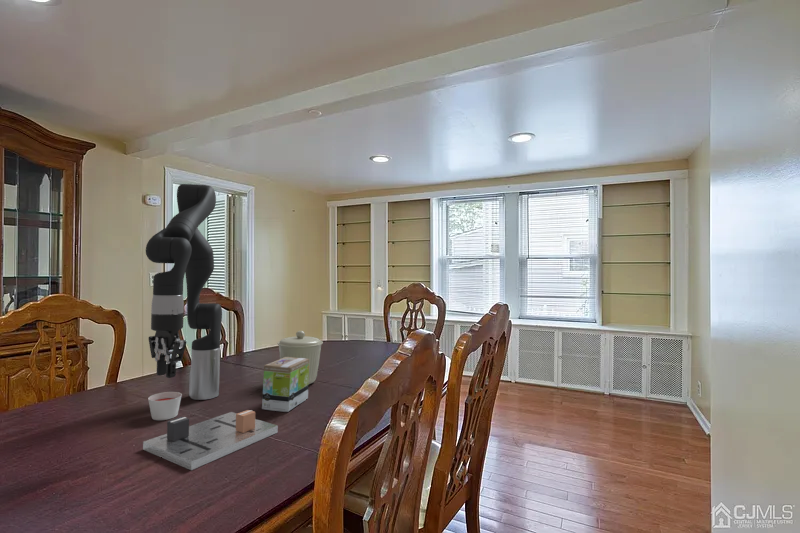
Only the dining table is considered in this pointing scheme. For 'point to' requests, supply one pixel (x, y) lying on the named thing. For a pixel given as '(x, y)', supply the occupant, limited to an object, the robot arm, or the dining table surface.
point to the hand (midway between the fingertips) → (166, 375)
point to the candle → (164, 405)
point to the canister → (302, 351)
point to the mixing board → (208, 441)
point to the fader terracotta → (245, 421)
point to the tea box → (285, 383)
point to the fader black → (177, 428)
